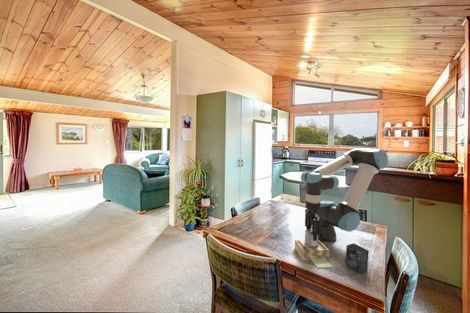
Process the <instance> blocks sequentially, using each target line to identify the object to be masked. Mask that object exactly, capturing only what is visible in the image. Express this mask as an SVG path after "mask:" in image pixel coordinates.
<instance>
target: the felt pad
mask: <svg viewBox="0 0 470 313" xmlns="http://www.w3.org/2000/svg"><path fill="white" fill-rule="evenodd" d="M310 261H311V262H312V263H313V264H314V267H316V268H317V269H330V268H332V269H333V268H334V266H333V265H332V264H331V262H330V261H328V259H311V260H310Z"/></svg>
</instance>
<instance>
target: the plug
mask: <svg viewBox="0 0 470 313" xmlns="http://www.w3.org/2000/svg"><path fill="white" fill-rule="evenodd" d="M304 232H305V233H304V234H305V235H304V240H305V244H306V245H307V247H308V248H316V247H318V235H317V245H316V246H311V233H312V229H305V231H304Z"/></svg>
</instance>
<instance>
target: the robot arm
mask: <svg viewBox="0 0 470 313" xmlns="http://www.w3.org/2000/svg"><path fill="white" fill-rule="evenodd" d="M388 163H389V157H388V153H387V152H386V151H385V150H384V149H382V148H380V149H379V148H368V147H367V148H365V147H364V148H363V147H359V148H353V149H350V150H348V151H346V152H344V153H342V154H340V155H339V157H337V158H335V159H333V160H331V161H329V162H327V163H325V164H324V165H322V166H320V167H317V168H316V169H314V170H312V171H304V172H302V173H301V175H300V179H301V182H302V183H303V184H305V188H306V189H305V195H304V197H305V209H304V212H305V213H304V214H305V215H304V226H305V228H306V229H305V230H307V229H312V233H311V246H316V245H317V235H318V240H319V241H320V242H325V243H326V242H328V243H330V242H334V241H336V240H337V233H336V229H335V228H338V229H340V230H341V231H345V232H350V233H351V232H352V231H355V230H356V229H358V227H359V225H360V223H361V216H360V211H359V207H360V204H361V203H362V201H363V198H364V197H365V194H366V193H367V191H368V188H369V186H370V183H372V180H373V178H374V176H375V175H376V174H378V173H379V172H380V170H385V169H386V168H387V166H388ZM355 166H356V167H357V168H358V170H357V172H356V174H355V176H354V178H353V180H352V181H351V184H350V185H349V188H348V190H347V192H346V193H345V196H344V198H343V200H342V201H340V202H338V203H337V206H336V203H335V201H331V200H322V191H325V190H334V189H337V188H338V187H339V185H340V180H339V178H338V177H337V176H336V175H334V174H336V173H337V172H340V171H342V170H343V169H345V168H351V167H355Z"/></svg>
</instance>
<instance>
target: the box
mask: <svg viewBox="0 0 470 313" xmlns="http://www.w3.org/2000/svg"><path fill="white" fill-rule="evenodd" d="M368 263H369V249H366V248H365V247H362V246H360V245H358V244H356V243H355V242H354V243H351V244H347V245H346V251H345V266H347V267H348V268H350V269H352V270H353V271H355V272H356V273H358V274H362V273H363V274H364V273H366V272H368V267H369V266H368V265H369V264H368Z"/></svg>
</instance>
